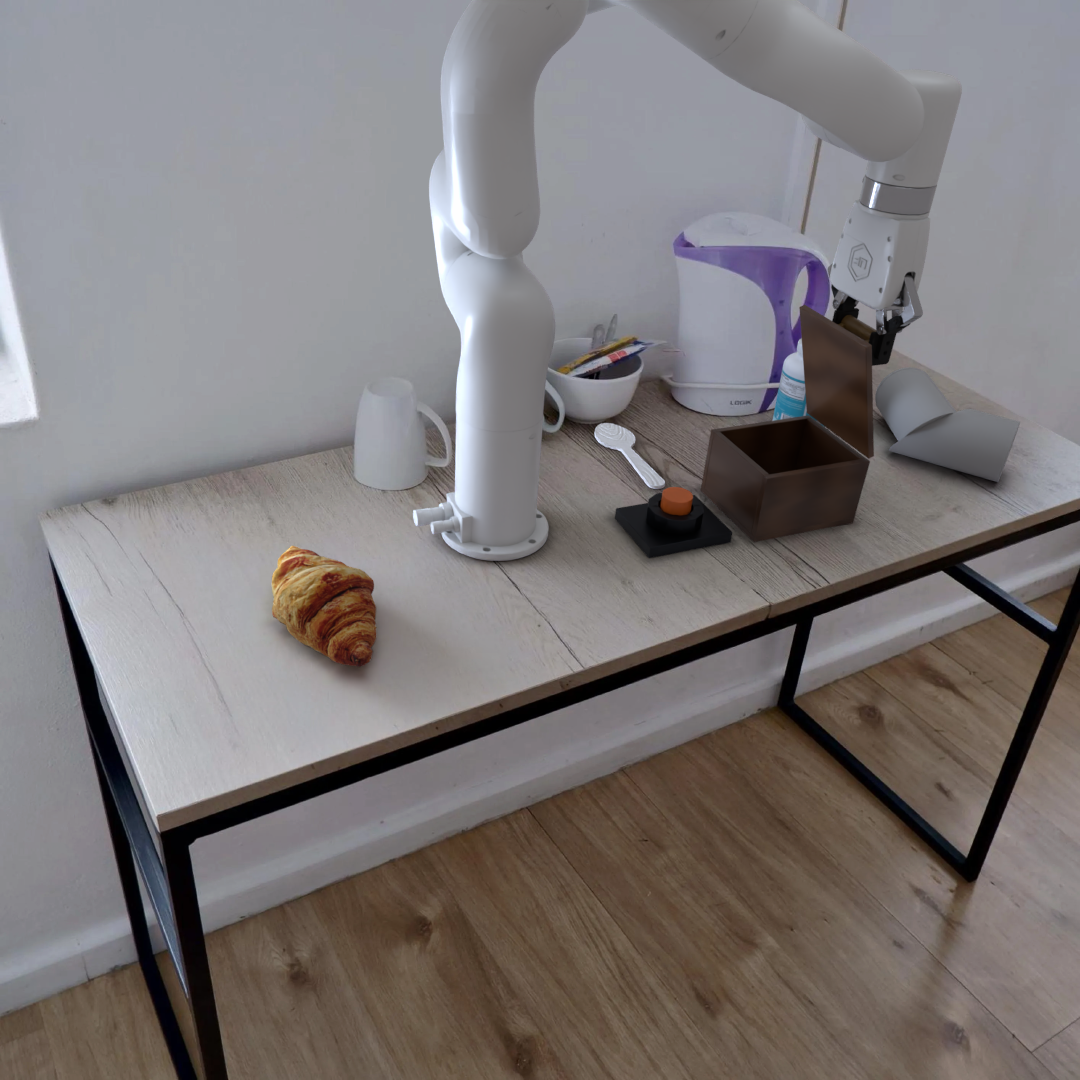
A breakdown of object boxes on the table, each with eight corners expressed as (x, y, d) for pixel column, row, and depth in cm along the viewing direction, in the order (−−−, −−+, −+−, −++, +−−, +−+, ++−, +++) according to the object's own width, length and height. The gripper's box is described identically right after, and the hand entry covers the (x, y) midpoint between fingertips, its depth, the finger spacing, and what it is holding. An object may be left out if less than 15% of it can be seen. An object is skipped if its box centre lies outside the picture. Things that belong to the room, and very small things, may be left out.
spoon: (640, 491, 128) (641, 487, 128) (586, 427, 142) (586, 424, 142) (678, 486, 130) (678, 482, 130) (620, 423, 144) (621, 420, 144)
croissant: (267, 597, 111) (226, 552, 105) (341, 541, 113) (304, 493, 107) (342, 713, 96) (298, 667, 90) (426, 646, 98) (388, 597, 92)
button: (669, 518, 118) (671, 504, 116) (654, 503, 120) (656, 489, 119) (696, 514, 119) (698, 499, 118) (681, 498, 122) (683, 484, 120)
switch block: (649, 558, 116) (652, 533, 114) (614, 518, 123) (617, 493, 121) (730, 542, 120) (735, 517, 118) (692, 504, 127) (697, 480, 125)
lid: (865, 347, 110) (904, 329, 111) (799, 306, 120) (835, 290, 121) (868, 459, 120) (904, 442, 121) (806, 413, 130) (840, 397, 131)
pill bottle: (819, 422, 149) (839, 335, 141) (826, 445, 142) (848, 356, 135) (768, 417, 149) (786, 330, 141) (772, 440, 143) (791, 350, 135)
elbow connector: (844, 446, 140) (994, 490, 132) (866, 372, 136) (1022, 412, 128) (869, 426, 154) (1006, 464, 147) (890, 358, 151) (1031, 393, 143)
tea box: (753, 542, 120) (767, 478, 115) (700, 490, 130) (710, 429, 125) (853, 523, 125) (870, 461, 120) (794, 474, 135) (808, 415, 130)
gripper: (820, 177, 114) (788, 328, 124) (922, 222, 101) (878, 386, 111) (873, 175, 117) (838, 323, 127) (980, 218, 104) (932, 379, 114)
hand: (857, 351), depth 119 cm, fingers closed on lid, 6 cm apart
